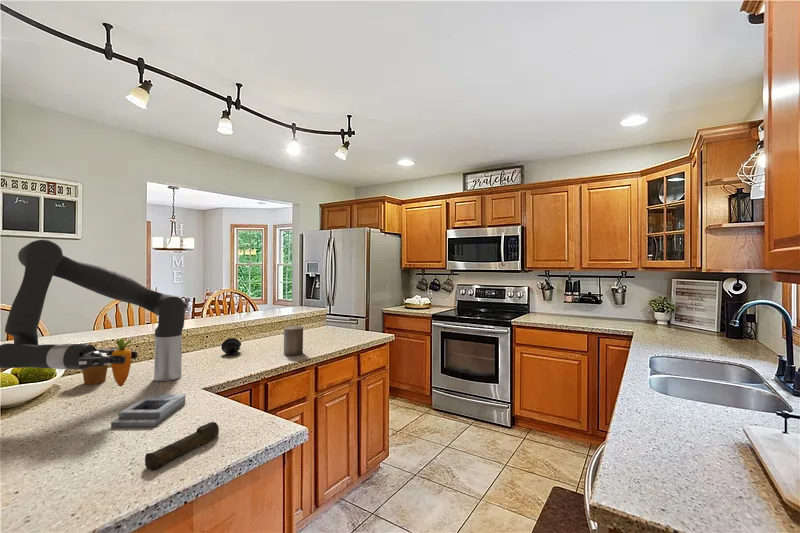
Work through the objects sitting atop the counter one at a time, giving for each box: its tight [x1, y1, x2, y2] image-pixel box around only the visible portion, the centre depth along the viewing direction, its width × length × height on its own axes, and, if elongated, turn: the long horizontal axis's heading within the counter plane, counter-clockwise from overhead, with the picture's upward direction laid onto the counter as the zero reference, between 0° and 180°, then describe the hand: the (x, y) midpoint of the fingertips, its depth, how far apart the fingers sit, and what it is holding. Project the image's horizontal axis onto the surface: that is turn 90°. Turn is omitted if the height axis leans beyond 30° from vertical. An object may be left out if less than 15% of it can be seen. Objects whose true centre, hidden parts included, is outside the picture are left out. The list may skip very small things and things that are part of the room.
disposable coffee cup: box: [82, 347, 109, 386], centre depth 142 cm, size 10×10×12 cm
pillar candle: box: [283, 325, 304, 357], centre depth 193 cm, size 10×10×15 cm
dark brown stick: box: [144, 421, 220, 471], centre depth 93 cm, size 19×4×5 cm, turn 155°
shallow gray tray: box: [110, 393, 186, 429], centre depth 114 cm, size 18×12×3 cm, turn 5°
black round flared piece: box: [221, 337, 242, 356], centre depth 192 cm, size 9×11×18 cm
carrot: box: [111, 337, 132, 388], centre depth 113 cm, size 5×5×15 cm
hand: (130, 357), depth 113 cm, fingers closed on carrot, 5 cm apart
